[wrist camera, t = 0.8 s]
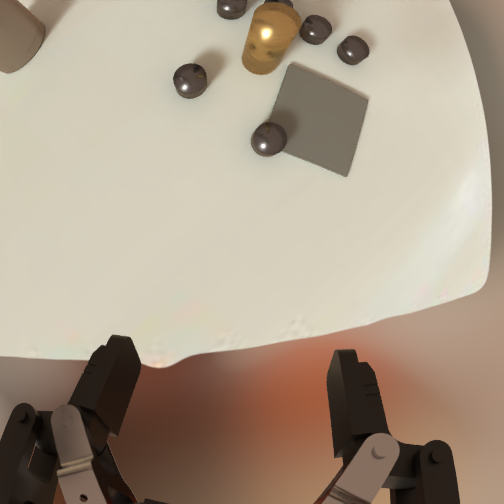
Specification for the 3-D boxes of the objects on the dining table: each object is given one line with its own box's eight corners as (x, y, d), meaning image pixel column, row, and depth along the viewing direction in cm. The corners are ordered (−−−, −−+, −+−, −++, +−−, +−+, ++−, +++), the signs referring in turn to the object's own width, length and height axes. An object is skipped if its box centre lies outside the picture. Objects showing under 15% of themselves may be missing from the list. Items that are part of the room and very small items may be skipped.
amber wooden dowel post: (236, 68, 29) (247, 27, 20) (248, 40, 29) (261, -4, 19) (271, 79, 30) (294, 43, 20) (282, 52, 29) (306, 12, 20)
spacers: (159, 125, 30) (155, 120, 27) (223, -10, 26) (224, -20, 24) (326, 180, 34) (334, 179, 31) (364, 43, 30) (372, 36, 28)
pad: (261, 144, 32) (262, 143, 31) (288, 65, 30) (289, 64, 29) (345, 176, 34) (347, 176, 33) (366, 101, 32) (368, 100, 31)
